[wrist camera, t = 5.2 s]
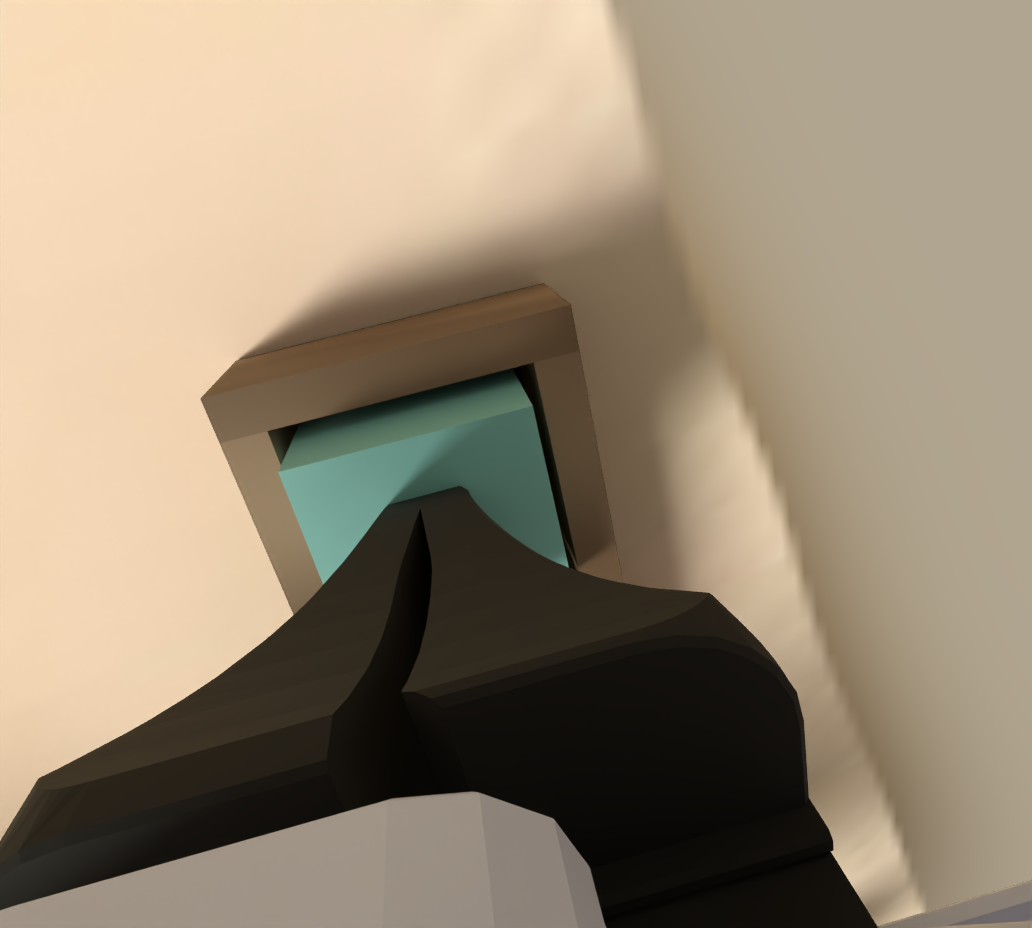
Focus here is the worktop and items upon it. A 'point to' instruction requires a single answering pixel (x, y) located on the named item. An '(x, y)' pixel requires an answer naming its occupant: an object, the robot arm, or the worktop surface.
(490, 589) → the robot arm
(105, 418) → the worktop surface
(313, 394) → the board
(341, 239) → the worktop surface
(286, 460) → the teal key
